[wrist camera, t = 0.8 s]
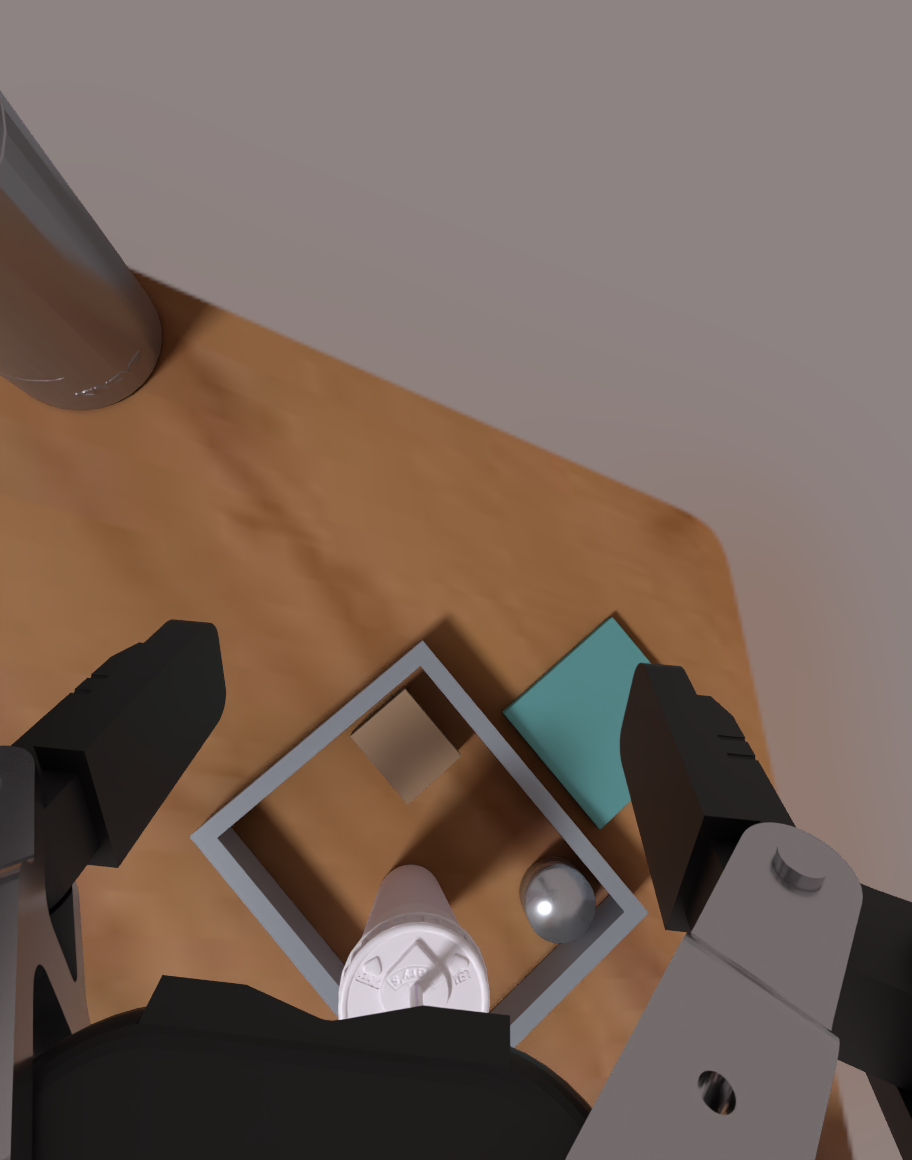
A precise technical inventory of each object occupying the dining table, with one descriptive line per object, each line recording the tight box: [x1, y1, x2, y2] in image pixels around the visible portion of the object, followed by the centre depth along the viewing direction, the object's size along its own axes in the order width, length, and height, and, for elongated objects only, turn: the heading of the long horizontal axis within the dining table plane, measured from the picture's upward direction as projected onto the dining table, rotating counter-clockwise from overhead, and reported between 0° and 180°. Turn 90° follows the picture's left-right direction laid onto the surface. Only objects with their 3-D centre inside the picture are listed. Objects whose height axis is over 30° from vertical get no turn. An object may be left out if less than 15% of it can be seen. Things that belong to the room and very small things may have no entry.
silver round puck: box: [520, 856, 596, 943], centre depth 33 cm, size 4×4×2 cm
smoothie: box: [338, 865, 490, 1020], centre depth 26 cm, size 6×6×14 cm
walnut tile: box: [350, 687, 461, 805], centre depth 33 cm, size 5×4×2 cm
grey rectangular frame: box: [189, 641, 648, 1048], centre depth 32 cm, size 20×16×2 cm
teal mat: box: [502, 617, 651, 829], centre depth 35 cm, size 9×9×1 cm
